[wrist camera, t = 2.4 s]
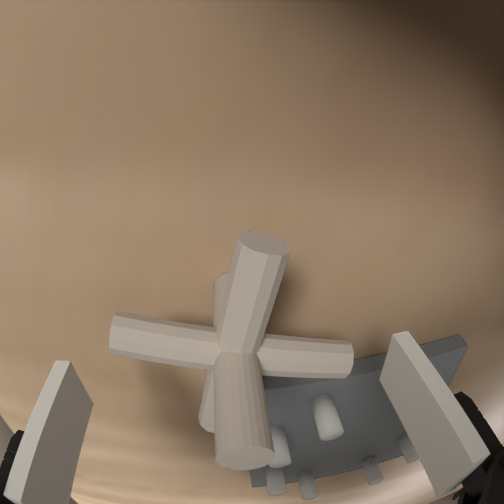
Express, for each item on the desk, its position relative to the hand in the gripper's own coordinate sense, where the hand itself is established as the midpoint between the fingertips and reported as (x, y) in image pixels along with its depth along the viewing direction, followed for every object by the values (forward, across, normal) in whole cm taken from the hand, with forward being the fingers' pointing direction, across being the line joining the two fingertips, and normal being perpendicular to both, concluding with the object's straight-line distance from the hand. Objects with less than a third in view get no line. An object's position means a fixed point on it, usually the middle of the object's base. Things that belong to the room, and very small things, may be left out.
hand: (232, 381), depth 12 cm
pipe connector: (+6, 0, 0) cm, 6 cm away
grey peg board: (+6, +9, -16) cm, 19 cm away
